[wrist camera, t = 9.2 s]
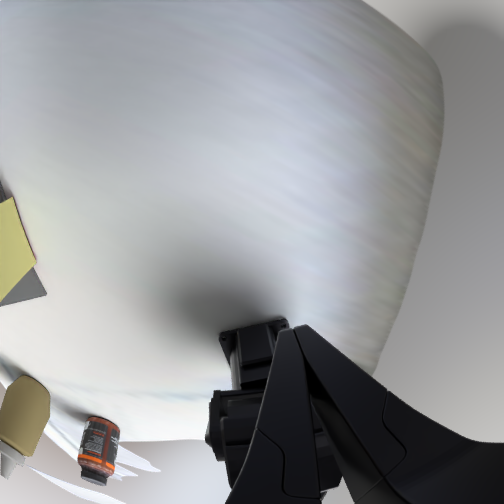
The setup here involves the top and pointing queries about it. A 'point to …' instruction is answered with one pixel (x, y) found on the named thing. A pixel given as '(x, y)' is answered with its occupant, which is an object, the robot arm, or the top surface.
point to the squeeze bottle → (22, 421)
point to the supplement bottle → (98, 450)
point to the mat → (23, 282)
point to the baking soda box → (12, 248)
